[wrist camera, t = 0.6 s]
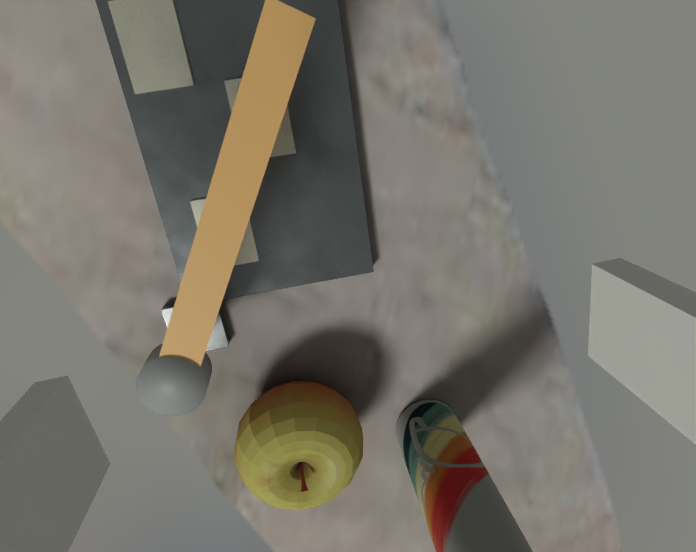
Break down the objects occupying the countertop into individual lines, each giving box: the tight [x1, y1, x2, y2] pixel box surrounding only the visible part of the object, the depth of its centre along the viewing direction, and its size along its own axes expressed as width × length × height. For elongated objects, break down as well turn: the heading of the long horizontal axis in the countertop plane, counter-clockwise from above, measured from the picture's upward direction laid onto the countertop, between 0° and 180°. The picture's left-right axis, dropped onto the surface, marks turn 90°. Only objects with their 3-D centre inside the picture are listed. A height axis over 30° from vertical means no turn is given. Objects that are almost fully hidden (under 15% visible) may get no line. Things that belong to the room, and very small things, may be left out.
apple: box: [235, 381, 363, 510], centre depth 35 cm, size 10×10×8 cm
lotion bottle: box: [396, 400, 533, 552], centre depth 31 cm, size 6×6×20 cm
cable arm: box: [136, 0, 316, 416], centre depth 25 cm, size 24×4×2 cm, turn 158°
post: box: [161, 304, 230, 351], centre depth 32 cm, size 4×4×6 cm
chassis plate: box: [96, 0, 374, 299], centre depth 30 cm, size 20×14×1 cm
